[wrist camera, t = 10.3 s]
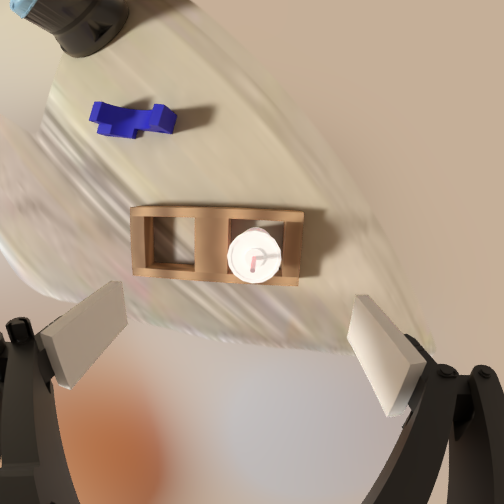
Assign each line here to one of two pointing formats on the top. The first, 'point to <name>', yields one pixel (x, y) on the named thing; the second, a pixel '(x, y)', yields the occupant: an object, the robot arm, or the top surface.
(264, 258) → the beverage cup
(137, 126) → the blue notched block
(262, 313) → the top surface
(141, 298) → the top surface
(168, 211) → the wooden holder tray
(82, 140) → the top surface
